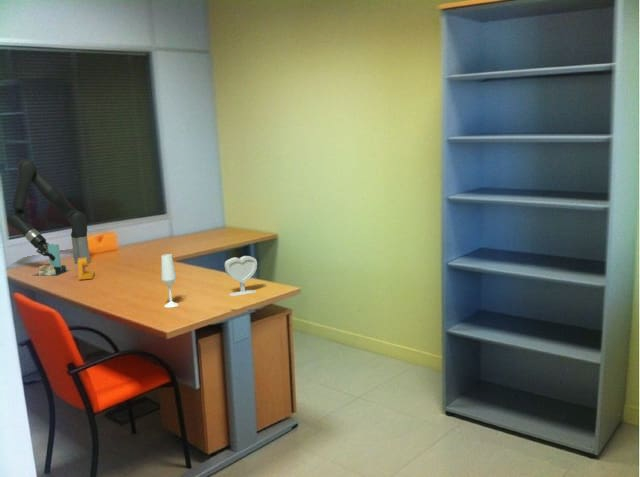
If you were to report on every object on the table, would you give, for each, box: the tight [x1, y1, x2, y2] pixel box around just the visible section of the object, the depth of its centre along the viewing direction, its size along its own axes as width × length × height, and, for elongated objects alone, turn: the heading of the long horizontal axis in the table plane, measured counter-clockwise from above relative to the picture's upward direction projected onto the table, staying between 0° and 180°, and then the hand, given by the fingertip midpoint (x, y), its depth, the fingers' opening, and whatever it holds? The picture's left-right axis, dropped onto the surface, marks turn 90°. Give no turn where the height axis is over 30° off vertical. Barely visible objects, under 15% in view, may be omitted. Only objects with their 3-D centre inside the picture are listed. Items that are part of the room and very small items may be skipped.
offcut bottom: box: [38, 270, 56, 275], centre depth 357 cm, size 8×4×2 cm, turn 76°
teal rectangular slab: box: [48, 243, 62, 267], centre depth 363 cm, size 6×2×16 cm, turn 76°
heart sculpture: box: [224, 255, 258, 297], centre depth 302 cm, size 16×5×18 cm, turn 117°
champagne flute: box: [160, 253, 180, 308], centre depth 285 cm, size 7×7×24 cm
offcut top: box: [38, 264, 54, 271], centre depth 356 cm, size 7×4×2 cm, turn 80°
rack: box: [31, 264, 71, 277], centre depth 360 cm, size 16×14×4 cm
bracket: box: [77, 257, 96, 281], centre depth 348 cm, size 11×7×12 cm, turn 13°
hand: (55, 258), depth 363 cm, fingers closed on teal rectangular slab, 2 cm apart
